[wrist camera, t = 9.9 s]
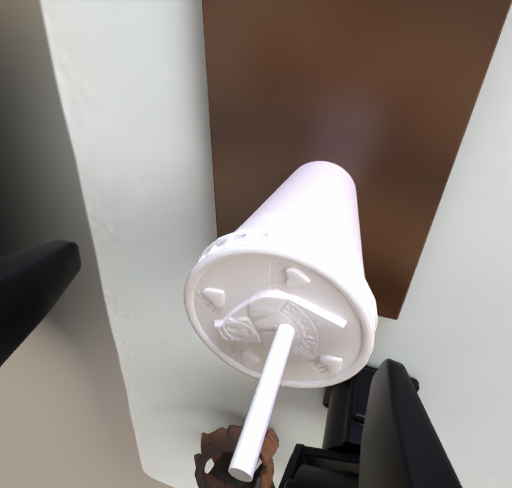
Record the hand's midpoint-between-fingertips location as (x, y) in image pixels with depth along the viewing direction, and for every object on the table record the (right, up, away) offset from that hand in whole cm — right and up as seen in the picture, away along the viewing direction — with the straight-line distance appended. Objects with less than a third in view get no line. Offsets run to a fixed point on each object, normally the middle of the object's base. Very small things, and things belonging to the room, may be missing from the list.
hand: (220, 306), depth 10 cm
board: (+5, +7, +9) cm, 12 cm away
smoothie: (+4, +4, +9) cm, 11 cm away
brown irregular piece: (0, -21, +31) cm, 37 cm away
